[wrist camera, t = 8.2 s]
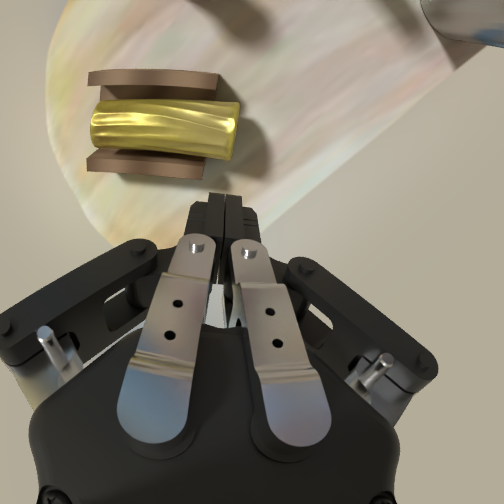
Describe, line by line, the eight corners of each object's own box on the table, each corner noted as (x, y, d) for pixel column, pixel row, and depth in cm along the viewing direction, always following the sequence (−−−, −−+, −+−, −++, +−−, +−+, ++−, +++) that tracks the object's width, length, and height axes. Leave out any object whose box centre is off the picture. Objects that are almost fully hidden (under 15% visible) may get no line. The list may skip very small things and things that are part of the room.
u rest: (219, 73, 26) (217, 75, 22) (204, 165, 32) (201, 179, 29) (105, 69, 24) (88, 72, 20) (101, 157, 30) (87, 171, 26)
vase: (229, 172, 26) (90, 162, 24) (231, 146, 31) (112, 138, 29) (240, 112, 22) (86, 106, 20) (240, 96, 27) (111, 89, 24)
